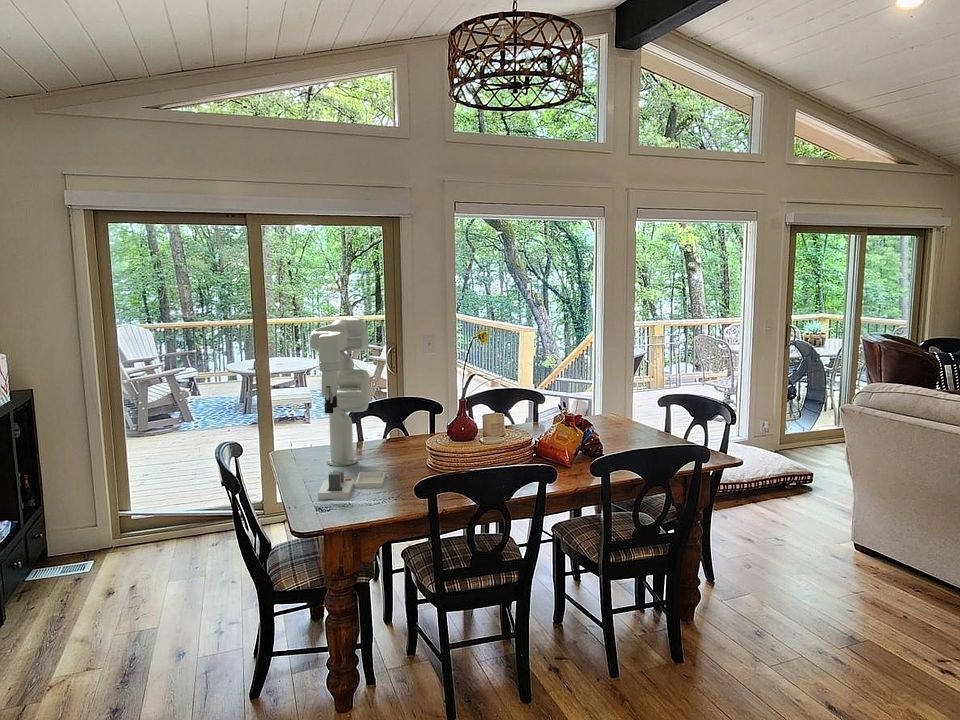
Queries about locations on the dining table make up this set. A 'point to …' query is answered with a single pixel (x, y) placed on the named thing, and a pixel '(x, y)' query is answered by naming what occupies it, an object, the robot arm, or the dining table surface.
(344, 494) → the socket strip
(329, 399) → the robot arm
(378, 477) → the tray
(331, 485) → the plug
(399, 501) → the dining table surface
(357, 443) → the dining table surface
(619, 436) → the dining table surface
